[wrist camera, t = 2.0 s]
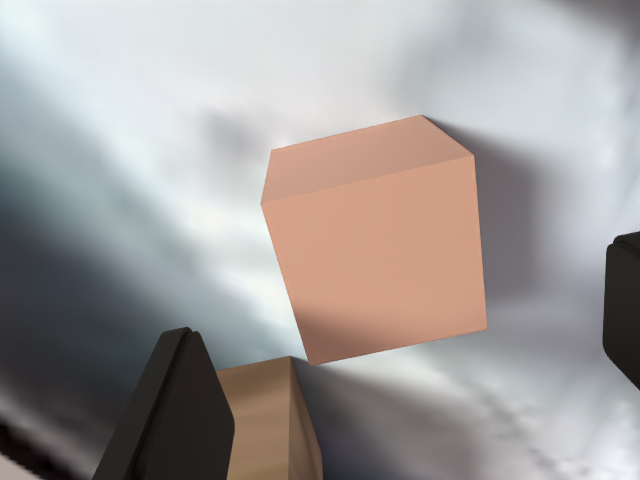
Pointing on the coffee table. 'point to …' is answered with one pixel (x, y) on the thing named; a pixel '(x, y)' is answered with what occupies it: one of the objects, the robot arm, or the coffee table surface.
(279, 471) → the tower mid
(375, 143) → the terracotta block
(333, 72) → the coffee table surface
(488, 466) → the coffee table surface
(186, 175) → the coffee table surface
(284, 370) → the tower base
